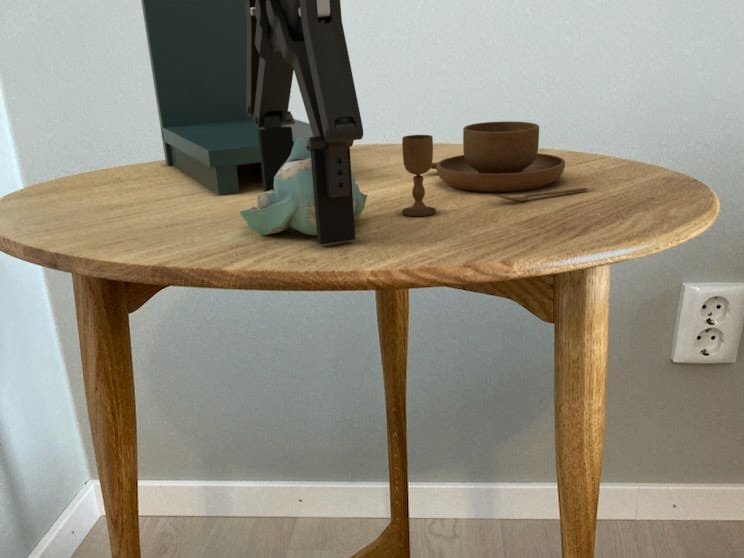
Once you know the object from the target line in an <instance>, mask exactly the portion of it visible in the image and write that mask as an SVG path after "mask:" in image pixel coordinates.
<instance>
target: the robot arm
mask: <svg viewBox="0 0 744 558" xmlns="http://www.w3.org/2000/svg"><path fill="white" fill-rule="evenodd" d="M245 9H246V19H247V65H246V111H247V114H248V116H249V117H253V120H254V123H255V126H256V128H260V130H257V131H258V141H259V150H260V160H261V162H260V169H261V178H262V186H263V187H262V188H263V192H266V191H270V190H274V185H273V184H274V177H275V175H276V174H277V172H278V171H279V169H280V168H281V166H282V165H283V164H284V163H285V162H286V161H287V159H288V158H289V156H290V155H291V151H292V148H293V137H292V127H281V125H291V124H294V123H295V121H292V120H294V119H295V118H294V116H293V114H292V113H291V110H289V106H290V105H289V104H290V100H291V93H292V92H291V91H292V85H293V78H294V76H295V78H296V79H295V80H296V82H297V85H298V89H299V92H300V96H301V99H302V102H303V107H304V110H305V113H306V117H307V120H308V123H309V124H310V127H311V130H312V133H313V137H310V138H309V139H310V140H308V143H307V146H306V148H307V150H308V151H310V152H311V165H312V177H313V190H314V202H315V215H316V228H317V236H316V238H317V239H316V240H317V243H318V244H319V245H327V244H333V243H334V244H335V243H340V242H346V241H348V242H349V241H354V240H356V231H355V230H356V229H355V221H354V211H353V194H352V177H351V171H352V161H351V147H353V144H354V141H360V140H363V137H364V127H363V122H362V116H361V111H360V106H359V102H358V96H357V92H356V86H355V81H354V76H353V71H352V65H351V61H350V55H349V50H348V44H347V39H346V33H345V30H344V24H343V20H342V18H343V17H342V6H341V0H245ZM294 74H295V75H294Z"/></svg>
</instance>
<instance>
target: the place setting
mask: <svg viewBox="0 0 744 558" xmlns="http://www.w3.org/2000/svg"><path fill="white" fill-rule="evenodd" d="M401 139H402V143H401V144H402V161H403V166H404V169H405V171H406V172H407V173H409V174H411V175H414V176H413V177H412V180H413V187H412V191H411V194H412V197H413V199H414V203H412V205H410V206H409V207H405V208H403V209H402V210H401V213H402V215H404V216H407V217H427V216H432V215H435V214H436V213H437V209H436V208H435V207H433V206H427V205H426V204H425V203H424V202H423V200H424V197H425V195H426V189H425V188H424V176H423V175H424V174H426V173H427V172H429V171H430V170H436V173H437V175H438V178H439V179H440V180H441V181H443V182H444V183H445V184H447V185H449V186H451V187H452V188H455V189H459V190H462V191H463V190H464V191H470V192H481V193H492V194H491V195H492V196H494V197H497V198H501V199H505V200H509V201H515V202H525V201H527V200H528V199H529V198H532V197H539V196H540V197H541V196H550V195H551V196H552V195H560V194H569V193H577V192H583V191H587V190H589V188H588V187H581V188H573V189H572V188H571V189H563V190H555V191H553V190H552V191H545V192H537V193H529V194H525V195H523V196H518V197H517V196H516V197H511V196H505V195H500V194H493V193H503V192H504V193H509V192H520V191H529V190H535V189H538V188H542V187H543V188H544V187H546V186H548V185H550V184H551V183H553V182H555V181H556V180H558V179H559V178H560V177H561V176H562V174H563V173H564V170H565V167H566V161H565V159H564V158H562V157H560V156H557V155H553V154H548V153H539V152H538V151H539V144H540V143H539V142H540V141H539V140H540V125H539V124H537V123H534V122H529V121H509V120H508V121H487V122H479V123H472V124H468V125H465V126H464V127H463V128H462V145H463V147H462V151H463V154H460V155H454V156H450V157H447V158H444V159H441V160H439V161H437V162H433V158H434V157H433V156H434V140H433V139H434V138H433V135H430V134H411V135H405V136H402V138H401Z"/></svg>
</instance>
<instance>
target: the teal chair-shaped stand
mask: <svg viewBox="0 0 744 558" xmlns="http://www.w3.org/2000/svg"><path fill="white" fill-rule="evenodd" d="M140 1H141V2H140V3H141V7H142V14H143V20H144V27H145V33H146V35H145V36H146V40H147V48H148V53H149V61H150V67H151V68H150V69H151V73H152V80H153V87H154V93H155V94H154V95H155V99H156V100H155V101H156V107H157V115H158V120H159V121H158V122H159V126H160V132H161V140H162V147H163V152H164V153H163V154H164V159H165V165H166V166H168V167H171V166H173V167H175V168H176V169H178V170H180V171H181V172H182V173H184V174H186V175H187V176H188V177H190V178H192V179H193V180H195V181H197V182H198V183H200V184H201V185H203V186H204V187H206V188H208V189H209V190H211V191H212V192H214V193H216V194H217V195H219V196H221V195H222V196H223V195H230V194H239V193H240V184H239V178H238V177H239V176H238V170H237V169H238V167H237V166H238V165H247V164H255V163H261V160H260V150H259V141H258V131H257V130H260V128H256V126H255V123H254V120H253V117H249V116H248V114H247V111H246V65H247V19H246V9H245V0H140ZM292 121H295V123H294V124H291V125H281V127H292V137H293V146H294V143H295V141H296V139H297V138H299V137H304V138H306V139H308V140H310V139H309V138H310V137H313V133H312V130H311V127H310V123H309V122H306V121H302V120H299V119H296V118H294V120H292Z"/></svg>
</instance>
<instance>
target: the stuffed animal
mask: <svg viewBox="0 0 744 558" xmlns="http://www.w3.org/2000/svg"><path fill="white" fill-rule="evenodd" d="M307 143H308V139H306V138H304V137H299V138H297V139H296V141H295V143H294V146H293V148H292V151H291V155H290V156H289V158H288V159H287V161H286V162H285V163H284V164H283V165H282V166H281V168H280V169H279V171H278V172H277V174H276V175H275V177H274V184H273V185H274V190H270V191H266V192H264V191H263V192H260V193H258V194H257V197H256V204H257V207H255V206H252V207H251V208H249V209H244V210H241V211H239V214H240V216H241V217H242V219H243V220H244V221H245V222H246V224H247V225H248V227H249V228H250V229H251V230H253V231H255V232H257V233H259V234H260V235H262V236H267V235H273V234H278V233H282V232H284V231H286V230H288V229H289V228H292V229H294V230H296V231H298V232H300V233H302V234H304V235H308V236H313V237H314V236H316V237H317V228H316V215H315V202H314V190H313V177H312V165H311V152H310V151H308V150H307V148H306V146H307ZM351 177H352V194H353V211H354V222H357V221H358V219H359V218H360V216H361V215H362V213H363V211H364V209H365V205H366V201H367V198H368V194H364V193H362V192H361V191H360V187H359V185H358V184H357V183H356V180H355V176H354V174H353V171H352V170H351Z"/></svg>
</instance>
